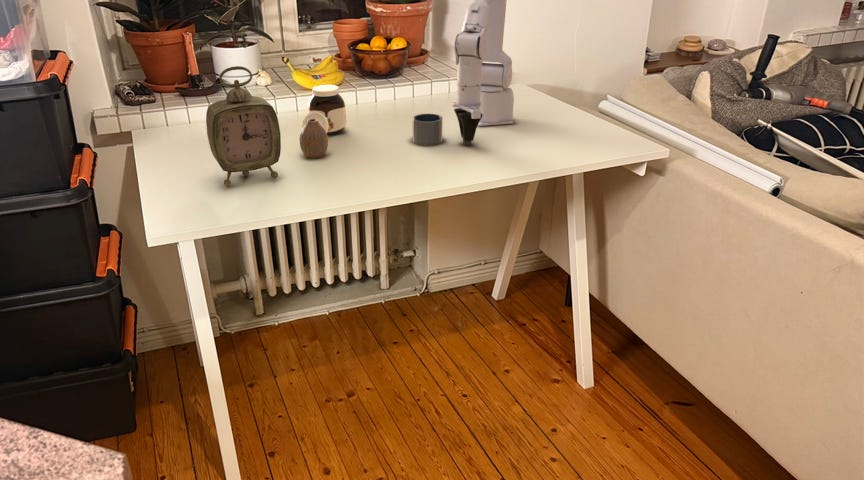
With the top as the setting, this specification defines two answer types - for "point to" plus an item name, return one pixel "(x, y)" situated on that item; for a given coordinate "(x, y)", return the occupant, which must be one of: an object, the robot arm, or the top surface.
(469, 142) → the grey upright block
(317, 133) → the vase
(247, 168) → the tabletop clock
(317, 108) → the spread jar
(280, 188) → the top surface
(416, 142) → the grey plastic cup
